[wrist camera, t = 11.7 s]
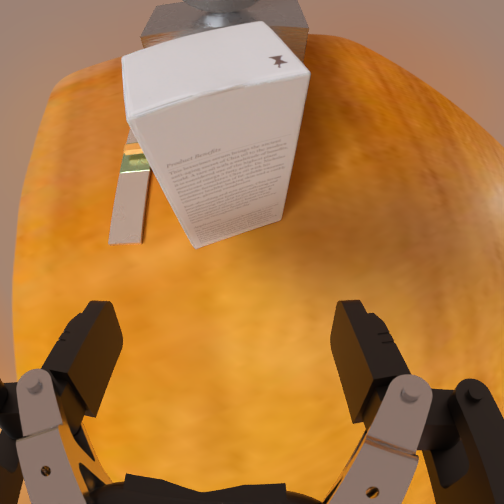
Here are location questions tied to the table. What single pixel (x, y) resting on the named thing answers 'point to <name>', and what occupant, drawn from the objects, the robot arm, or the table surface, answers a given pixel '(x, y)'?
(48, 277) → the table surface
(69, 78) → the table surface
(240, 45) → the skincare box
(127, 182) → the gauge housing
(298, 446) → the table surface
